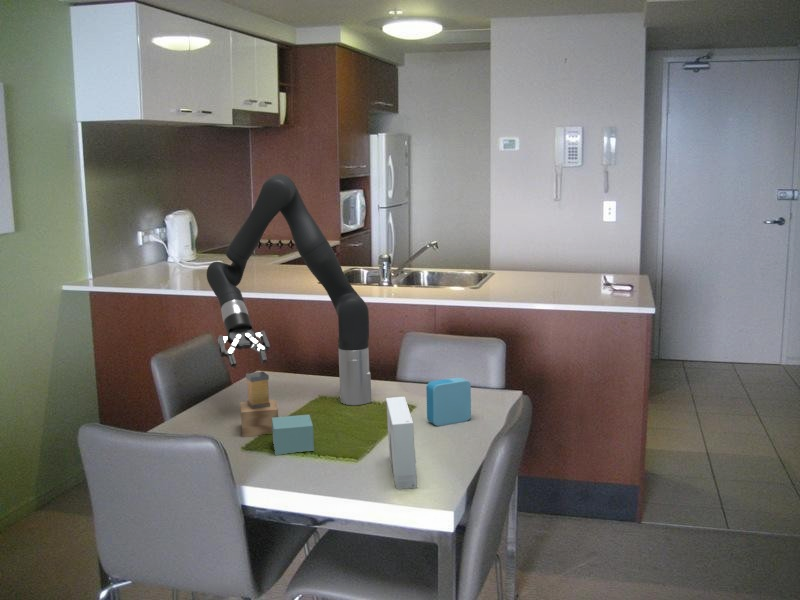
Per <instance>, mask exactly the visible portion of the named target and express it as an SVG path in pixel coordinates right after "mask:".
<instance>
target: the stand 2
mask: <svg viewBox="0 0 800 600" xmlns="http://www.w3.org/2000/svg"><path fill="white" fill-rule="evenodd" d="M272 430H273V434H272V441H273V442H272V443H273V444H274V445H273V450H275V451H274V455H275V456H282V454H285V455H288V454H287V453H294V452H303V451H314V452H315V443H314V440H315V439H314V425H313V421H312V419H311V415H310V414H300V415H299V414H298V415H287V416H278V417H273V418H272Z"/></svg>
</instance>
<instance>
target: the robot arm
mask: <svg viewBox="0 0 800 600" xmlns="http://www.w3.org/2000/svg"><path fill="white" fill-rule="evenodd" d="M256 199H257V200H256V201H255V204H254V206H253V208H252V209H251V211H250V213H249V215H248V217H247V218H246V220H245V221H244V223H242V224H243V225H241V227H240V229H238V231H237V233H236V234H235V236H234V237H233V239H232V240H231V242H230V243H229V245H228V246H227V248H226V250H225V256H226V257H227V258H228V259H229V260H230V261H231V264H227V263H225V262H222V261H221V262H220V261H213V262H211V263H210V264H209V265H208V266H207V269H206V280H207V283H208V284H209V287H210V288H211V289H212V291H213V294H214V295H215V297H217V299H218V302H219V303H218V304H219V306H220V310H221V317H222V322H223V324H224V325H223V326H224V328H225V332H226V334H227V336H223V335H222V334H220V335H219V336H218V338H217V346H218V352H219V356H220V357H221V358H224V357H226V358H227V359H228V360H227V361H228V364H229V366H230V367H232V369H236V367H237V361H236V358H235V354H234V353H235V351H236V350H238V351H239V350H244V349H245V350H247V349H248V350H249V349H252V350H253V351H256V352H257V353H258V356H259V360H260V363H261V365H266V362H267V360H268V359H267V358H268V357H267V354H266V352H269V349H270V347H271V344H270V342H269V338H268V336H267V334H266V332H265V330H261V331H260V332H255V331H254V329H253V325H252V321H251V318H250V316H249V311H248V308H247V306H246V305H245V301H244V298H243V294H242V292H241V289H240V288H238V285H240V283H241V281H242V279H243V276H244V272H245V269H246V266H247V263H248V260H250V257H251V256H252V254H253V253H254V251H255V249H257V246H258V245H259V243H260V241H261V239H262V237H263V236H264V233H265V231H266V229H267V227H268V226H269V225H270V223H271V222H272V221H273V219H274V218H275V217H276V216H277V215H278V214H279V213H280V214H281V215H282V216H283V218H284V219H285V222H286V223H287V224H288V228H289V230H290V233H291V237H292V240H293V242H294V245H295V248H296V250H297V252H298V254H299V256H300V257H301V258H302V260H303V262H304V264H305V265H306V267H307V268H308V270H309V271H310V272H311V274H312V275H313V276H314V278H315V279H316V280H317V281H318V282H319V283H320V285H321V286H322V287H323V288H324V290H325V291H326V293H327V295H328V297H329V299H330V300H331V303H332V305H333V308H334V309H335V312H336V315H337V318H338V319H337V320H338V323H337V324H338V339H337V344H338V346H337V347H338V367H339V368H338V371H339V373H338V374H339V397H340V398H339V399H340V400H339V401H340V403H341V404H342V403H343V404H342V405H345V404H346V405H347V406H361V405H365V404H370V403H371V404H372V378H371V377H372V375H371V374H372V373H371V371H370V355H369V353H370V352H369V348H370V347H369V339H370V317H369V307H368V305H367V303H366V302H365V300H364V299H363V298H362V297H361V296H360V294H358V292H357V291H356V290H355V289H354V287H353V286H352V284H351V283H350V282H349V280H348V279H347V277H346V275H345V273H344V271H343V268H342V266H341V263H340V261H339V259H338V257H337V255H336V253H335V251H334V249H333V248H332V246H331V244H330V243H329V241H328V240H327V237H326V236H325V234H324V233H323V231H322V230H321V228H320V227H319V225H318V224H317V222H316V221H315V219H314V218H313V217H312V215H311V213H309V211H308V209H307V206H306V205H305V202H304V201H303V199H302V197H301V195H300V192H299V190H298V188H297V185H296V183H295V182H294V181H293V180H292V178H291V177H289V176H287V175H286V174H282V173H278V174H274V175H272V176H270V177H269V178H268V179H267V180H266V181H264V182H263V184H262V186H261V189H260V192H259V194H258V197H257V198H256ZM256 338H257V339H258V340H257V339H256ZM259 341H260V342H261V343H260V342H259ZM226 342H227V343H229V344H230V347H229V349H228V350H226V346H225V345H226Z"/></svg>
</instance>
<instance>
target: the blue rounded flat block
mask: <svg viewBox="0 0 800 600" xmlns="http://www.w3.org/2000/svg"><path fill="white" fill-rule="evenodd" d="M471 386H472V385H471V382H470V381H469V380H467V379H466V378H463V377H460V376H458V377H453V378H452V377H451V378H446V379H445V378H444V379H437V380H431V381H429V382H428V383H427V385H426V388H425V389H426V419H427V421H428V422H429V423H431V424H433V425H435V426H437V427H441V426H446V425H447V426H448V425H451V424H452V425H453V424H457V423H463V422H464V423H465V422H468V421H469V420H471V417H472V393H471V391H472V387H471Z"/></svg>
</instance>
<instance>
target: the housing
mask: <svg viewBox="0 0 800 600" xmlns="http://www.w3.org/2000/svg"><path fill="white" fill-rule="evenodd" d="M245 378H246V382H247V383H246V384H247V386H246V387H247V401H246V402H247V404H248V406H249V407H251V408H252V409H259V408H265V407H270V402H269V400H270V395H269V380H270V379H269V378H270V377H269V374H267V373H266V372H265V371H256V372H251V373H245Z"/></svg>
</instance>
